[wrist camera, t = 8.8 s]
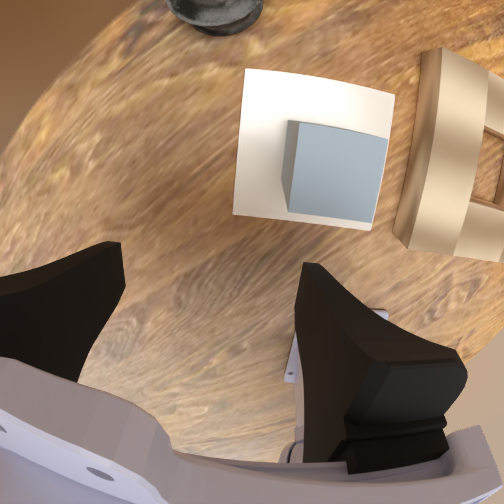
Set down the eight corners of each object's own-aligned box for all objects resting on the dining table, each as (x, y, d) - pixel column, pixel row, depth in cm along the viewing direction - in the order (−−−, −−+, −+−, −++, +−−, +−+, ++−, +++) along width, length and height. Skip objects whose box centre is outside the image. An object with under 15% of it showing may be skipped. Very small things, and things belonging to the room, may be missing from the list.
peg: (339, 186, 20) (371, 223, 13) (281, 178, 20) (288, 212, 13) (348, 129, 18) (388, 139, 12) (287, 119, 18) (299, 122, 12)
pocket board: (506, 251, 21) (523, 266, 19) (392, 232, 21) (407, 249, 19) (536, 113, 15) (558, 118, 12) (421, 52, 15) (442, 47, 12)
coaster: (368, 228, 21) (370, 230, 21) (233, 212, 21) (232, 214, 21) (392, 95, 17) (395, 95, 17) (246, 69, 17) (245, 68, 17)
